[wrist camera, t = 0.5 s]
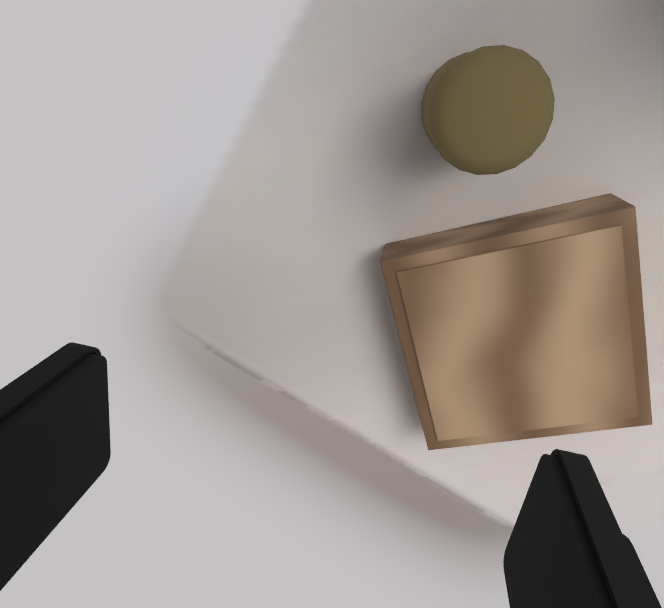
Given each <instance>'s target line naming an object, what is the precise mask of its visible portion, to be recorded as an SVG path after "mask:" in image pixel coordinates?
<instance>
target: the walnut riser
mask: <svg viewBox="0 0 664 608" xmlns="http://www.w3.org/2000/svg"><path fill="white" fill-rule="evenodd" d="M381 265H382V269H383V273H384V277H385V281H386V285H387V289H388V293H389V297H390V301H391V305H392V309H393V312H394V316H395V320H396V324H397V328H398V332H399V336H400V340H401V344H402V348H403V352H404V356H405V360H406V364H407V368H408V371H409V375H410V379H411V383H412V387H413V391H414V395H415V399H416V403H417V407H418V411H419V415H420V419H421V423H422V426H423V430H424V434H425V438H426V442H427V446H428V450H434V449H442V448H451V447H460V446H469V445H477V444H486V443H495V442H504V441H512V440H521V439H530V438H538V437H547V436H556V435H565V434H573V433H582V432H591V431H600V430H608V429H617V428H626V427H635V426H643V425H652V414H651V401H650V389H649V376H648V363H647V350H646V338H645V325H644V312H643V299H642V287H641V274H640V261H639V249H638V236H637V223H636V210H635V206H633V205H631V204H629V203H627V202H626V201H624V200H622V199H620V198H618V197H616V196H615V195H613V194H606V195H602V196H597V197H593V198H589V199H584V200H580V201H575V202H571V203H566V204H562V205H557V206H553V207H548V208H544V209H540V210H535V211H531V212H526V213H522V214H517V215H513V216H508V217H504V218H499V219H495V220H491V221H486V222H482V223H477V224H473V225H468V226H464V227H459V228H455V229H450V230H446V231H441V232H437V233H433V234H428V235H424V236H419V237H415V238H410V239H406V240H401V241H397V242H392V243H388V244H386V245H385V248H384V252H383V255H382V259H381Z"/></svg>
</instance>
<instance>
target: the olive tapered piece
mask: <svg viewBox="0 0 664 608" xmlns="http://www.w3.org/2000/svg"><path fill="white" fill-rule="evenodd" d="M553 110H554V94H553V90H552V86H551V82H550V78H549V77H548V75H547V74H546V72H545V71H544V69H543V68H542V66H541V65H540V63H539V62H538V61H537V60H535V59H534V58H533V57H531V56H530V55H528V54H527V53H526V52H524V51H523V50H519V49H516V48H512V47H508V46H504V45H500V46H488V47H481V48H479V49H476V50H474V51H472V52H469V53H464V54H462V55H460V56H457V57H455V58H453V59H450V60H449V61H448V62H447V63H445V64H444V65H443V66H442V67H441V68H439V69H438V70H437V71H436V73H435V74H434V76H433V77H432V79H431V80H430V82H429V83H428V85H427V87H426V90H425V93H424V97H423V100H422V121H423V125H424V128H425V131H426V134H427V135H428V137H429V138H430V140H431V141H432V142H433V144H434V145H435V147H436V148H437V149H438V151H439V152H440V154H441V155H442V156H443V158H444V159H445V160H446V161H448V162H449V163H451V164H452V165H453V166H455V167H456V168H458V169H459V170H462V171H466V172H469V173H473V174H476V175H485V174H498V173H501V172H504V171H506V170H509V169H512V168H515V167H516V166H518V165H519V164H520V163H522V162H523V161H525V160H526V159H527V158H529V157H530V156H532V154H533V153H534V152H535V151H536V149H537V148H538V147H539V146H540V144H541V143H542V142H543V140H544V139H545V137H546V134H547V132H548V130H549V127H550V125H551V122H552V120H553Z"/></svg>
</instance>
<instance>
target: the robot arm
mask: <svg viewBox="0 0 664 608" xmlns="http://www.w3.org/2000/svg"><path fill="white" fill-rule="evenodd" d="M109 459H110V428H109V403H108V378H107V361H106V358H105V357H104V356H101V353H100V351H99V349H97V348H95V347H91V346H86V345H81V344H77V343H68V344H66V345H65V346H63V347H62V348H60V349H59V350H57V351H56V352H55V353H53V354H52V355H50V356H49V357H47V358H46V359H44V360H43V361H41V362H40V363H39V364H37V365H36V366H34V367H33V368H31V369H30V370H28V371H27V372H26V373H24V374H23V375H21V376H20V377H18V378H17V379H15V380H14V381H12V382H11V383H9V384H8V385H7V386H5V387H4V388H2V389H1V390H0V591H1V589H2V588H3V587H4V586H5V585H6V584H7V582H8V581H9V580H10V579H11V578H12V577H13V576H14V574H15V573H16V572H17V571H18V570H19V569H20V567H21V566H22V565H23V564H24V563H25V562H26V561H27V559H28V558H29V557H30V556H31V555H32V553H33V552H34V551H35V550H36V549H37V548H38V547H39V545H40V544H41V543H42V542H43V541H44V540H45V539H46V537H47V536H48V535H49V534H50V533H51V531H52V530H53V529H54V528H55V527H56V526H57V524H58V523H59V522H60V521H61V520H62V519H63V518H64V517H65V515H66V514H67V513H68V512H69V511H70V510H71V508H72V507H73V506H74V505H75V503H77V501H78V500H79V499H80V498H81V497H82V496H83V495H84V493H85V492H86V491H87V490H88V489H89V488H90V486H91V485H92V484H93V483H94V482H95V481H96V479H97V478H98V477H99V476H100V475H101V474H102V472H103V471H104V470H105V469H106V467H107V465H108V462H109ZM504 573H505V580H506V586H507V592H508V598H509V604H510V608H661V606H660V603H659V601H658V599H657V597H656V595H655V592H654V591H653V588H652V586H651V584H650V582H649V579H648V577H647V575H646V573H645V571H644V569H643V566H642V564H641V562H640V560H639V558H638V555H637V553H636V551H635V549H634V547H633V545H632V543H631V542H630V540H629V538H627V537H626V536H625V535H624V534H622V532H621V530H620V528H619V526H618V524H617V521H616V519H615V517H614V515H613V512H612V510H611V508H610V506H609V503H608V501H607V499H606V497H605V494H604V492H603V490H602V488H601V485H600V483H599V481H598V479H597V476H596V474H595V472H594V470H593V467H592V465H591V463H590V461H589V459H588V457H587V456H585V455H581V454H577V453H572V452H568V451H563V450H559V449H555V450H554V451H553V452H552V453H551V455H547V454H543V455H542V457H541V459H540V461H539V463H538V466H537V469H536V471H535V474H534V476H533V479H532V482H531V484H530V487H529V489H528V492H527V495H526V497H525V500H524V503H523V505H522V508H521V510H520V513H519V516H518V518H517V521H516V523H515V526H514V529H513V531H512V534H511V536H510V539H509V542H508V544H507V547H506V550H505V555H504Z"/></svg>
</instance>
